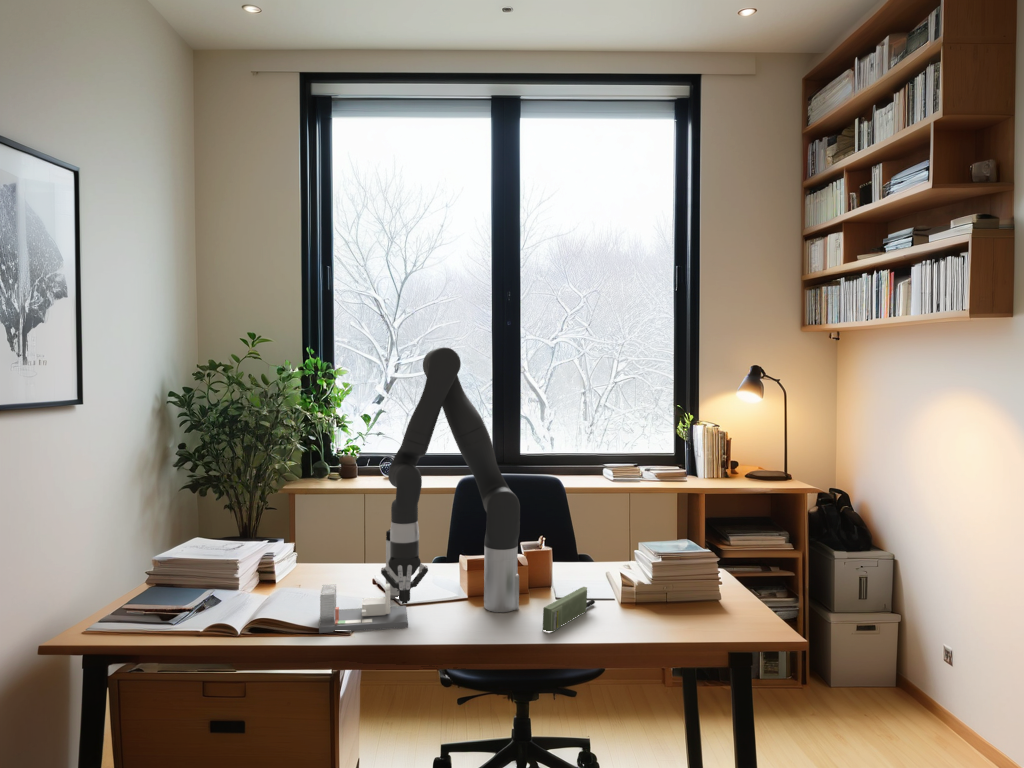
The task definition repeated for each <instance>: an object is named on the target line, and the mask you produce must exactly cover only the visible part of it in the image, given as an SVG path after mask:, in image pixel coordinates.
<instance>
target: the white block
mask: <svg viewBox="0 0 1024 768" xmlns="http://www.w3.org/2000/svg"><path fill="white" fill-rule="evenodd" d="M384 589H385V590H384V591H385V594H384V595H385V596H384V597H367V598H365V597H364V598H362V599H361V601H362V602H361V608H362V616H377V615H386V614H390V607H391V599H390V584H386V583H385V587H384Z"/></svg>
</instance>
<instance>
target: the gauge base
mask: <svg viewBox="0 0 1024 768" xmlns="http://www.w3.org/2000/svg"><path fill="white" fill-rule="evenodd" d="M406 628H407V629H408V628H409V619H408V610H407V605H398V606H397V605H396V606H390V614H386V615H377V616H362V607H361V608H360V607H359V608H343V609H342V608H341V609H340V608H339V621H338V624H335V620H334V621H330V622H320V621H319V625H318V633H319V634H323V633H324V634H325V633H326V634H327V633H328V634H329V633H334V632H333V631H335V630H351V631H350V632H359V631H374V630H375V631H377V630H391V629H406Z"/></svg>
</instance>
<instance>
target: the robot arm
mask: <svg viewBox="0 0 1024 768" xmlns="http://www.w3.org/2000/svg"><path fill="white" fill-rule="evenodd" d="M461 364H462V363H461V357H460V355H459V354H458V352H457V351H456V350H455V349H453V348H451V347H447V346H446V347H444V346H442V347H437V348H435V349H432V350H430V351H428V352H427V353H426V354H425V356H424V357H423V361H422V369H423V373H424V375H425V377H426V379H425V384H424V388H423V391H422V393H421V396H420V399H419V401H418V402H417V404H416V407H415V409H414V411H413V413H412V415H411V417H410V419H409V422H408V424H407V426H406V429H405V432H404V436H403V439H402V441H401V445H400V447H399V449H398V451H397V452H396V454H395V456H394V457H393V459H392V462H391V464H390V466H389V469H388V474H387V475H388V481H389V483H390V484H391V485H392V486H393V487H395V488H396V494H395V499H394V500H393V501H392V503H391V506H390V507H391V508H390V509H391V512H390V513H391V514H390V515H391V517H390V520H391V521H390V528H389V529H390V560H389V562H388V565H387V566H386V565H385V566H384V567H382V568H381V569H380V574H381V575H382V576H383V578H385V581H386V580H387V581H388V582H389V583H390V585H391V586H392V587H393V588H397V589H399V599H398V600H399V602H401V604H402V605H403V604H406V605H407V604H408V602H410V601H411V589H413V588H416V587H417V586H418V585H419V584H420V582H421V581H422V580H423V578H424V577H425V575H426V574H427V573H428V572H429V568H428V565H425V564H423V563H422V561H421V559H420V527H419V507H418V505H419V501H420V497H421V491H422V487H423V486H422V484H423V483H422V482H423V478H422V474H421V471H420V469H419V468H418V467H417V464H418V462H419V460H420V458H423V457H425V455H426V454H427V451H428V449H429V445H430V443H431V440H432V438H433V434H434V431H435V427H436V425H437V422H438V420H439V416H440V412H441V410H443V413H444V416H445V418H446V421H447V423H448V426H449V429H450V431H451V433H452V436H453V439H454V441H455V443H456V446H457V449H458V450H459V452H460V454H461V455H462V458H463V460H464V462H465V464H466V465H467V467H468V469H469V471H470V472H471V473H472V475H473V477H474V480H475V482H476V485H477V488H478V491H479V495H480V497H481V501H482V506H483V508H484V511H485V512H486V528H485V529H486V530H485V535H484V552H483V553H484V559H483V560H484V566H483V568H484V571H483V572H484V573H483V579H484V580H483V581H484V582H483V586H484V587H483V608H484V609H485V610H486V611H489V612H493V613H508V612H512V611H515V610H520V605H519V604H520V598H519V597H520V575H519V573H518V549H519V548H518V547H519V546H518V543H519V537H520V531H521V530H520V527H521V526H520V525H521V505H520V500H519V498H518V496H517V495H516V493H514V492H513V491H512V490H511V489H510V487H509V485H508V483H507V482H506V480H505V478H504V476H503V475H502V472H501V470H500V468H499V465H498V462H497V459H496V453H495V450H494V446H493V443H492V439H491V436H490V434H489V432H488V429H487V426H486V424H485V422H484V420H483V418H482V416H481V414H480V413H479V412H478V410H477V408H476V407H475V406H474V404H473V403H472V402H471V400H470V399H469V397H468V396H467V394H466V392H465V391H464V388H463V387H462V384H461V381H460V378H459V376H458V374H459V372H460V369H461V367H462V366H461ZM390 568H391V570H392V571H393V572H394V574H395V575H396V576H398V580H399V582H396V581H395V580H394V578H393V577H392V576H391V575H390ZM417 570H418V573H417V575H415V577H414V578H413V579H412V576H413V575H414V574H415V573H416V571H417ZM404 576H406V582H405V589H404V584H403V577H404Z"/></svg>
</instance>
